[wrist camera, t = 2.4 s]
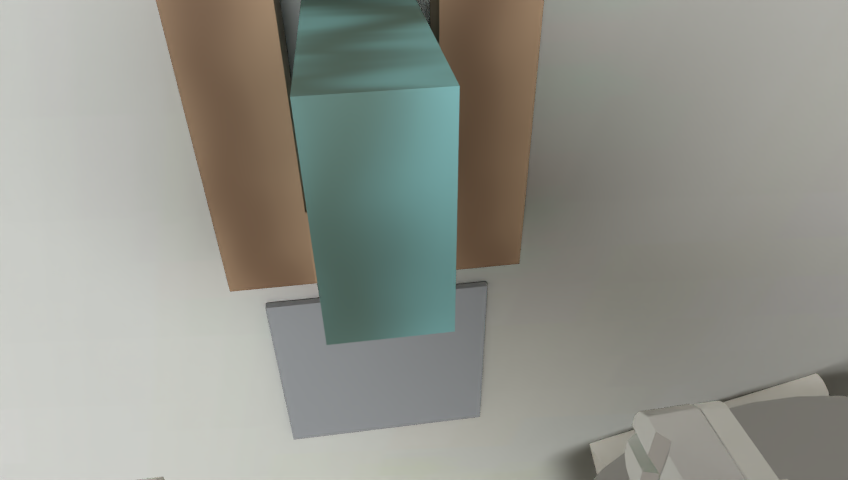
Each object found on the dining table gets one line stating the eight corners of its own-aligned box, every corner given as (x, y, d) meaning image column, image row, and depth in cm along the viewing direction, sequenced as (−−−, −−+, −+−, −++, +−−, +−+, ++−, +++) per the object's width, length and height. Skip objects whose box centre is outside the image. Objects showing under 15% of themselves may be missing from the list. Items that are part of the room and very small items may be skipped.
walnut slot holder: (538, -177, 22) (560, -177, 20) (506, 235, 32) (519, 263, 30) (134, -169, 20) (113, -168, 18) (236, 260, 31) (230, 291, 29)
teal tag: (404, -23, 24) (459, 85, 15) (410, 157, 29) (454, 331, 19) (303, -19, 24) (290, 96, 14) (325, 163, 28) (326, 345, 19)
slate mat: (485, 281, 34) (487, 285, 34) (478, 411, 40) (479, 416, 40) (266, 303, 33) (265, 308, 32) (294, 434, 39) (293, 439, 39)
